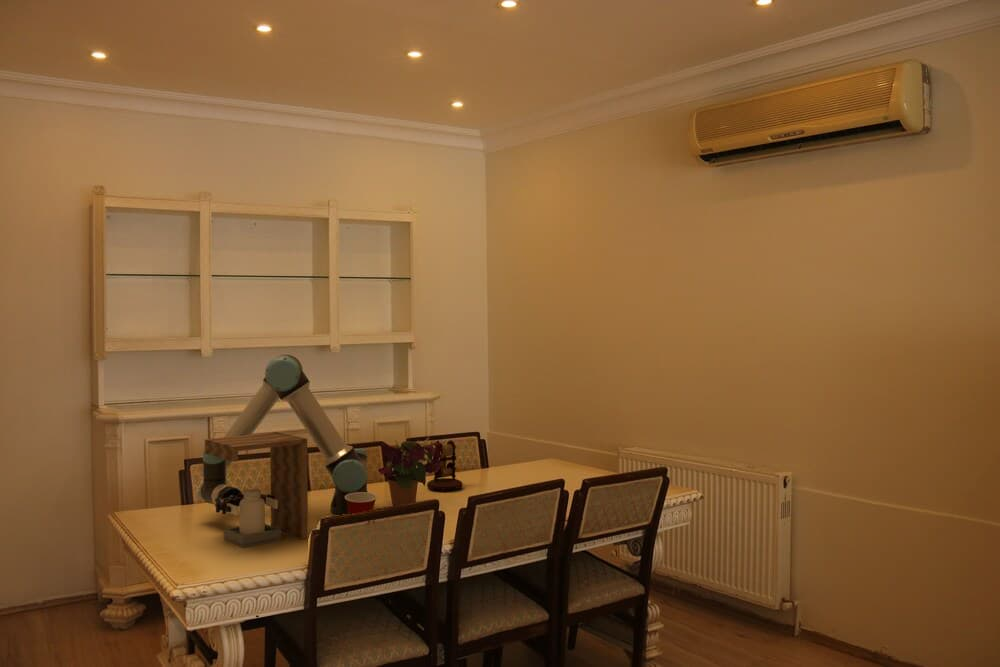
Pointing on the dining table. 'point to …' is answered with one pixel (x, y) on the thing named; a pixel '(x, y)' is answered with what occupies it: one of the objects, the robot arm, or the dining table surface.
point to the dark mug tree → (446, 470)
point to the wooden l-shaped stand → (276, 474)
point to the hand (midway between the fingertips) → (257, 507)
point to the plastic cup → (360, 501)
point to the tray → (252, 536)
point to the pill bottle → (251, 513)
